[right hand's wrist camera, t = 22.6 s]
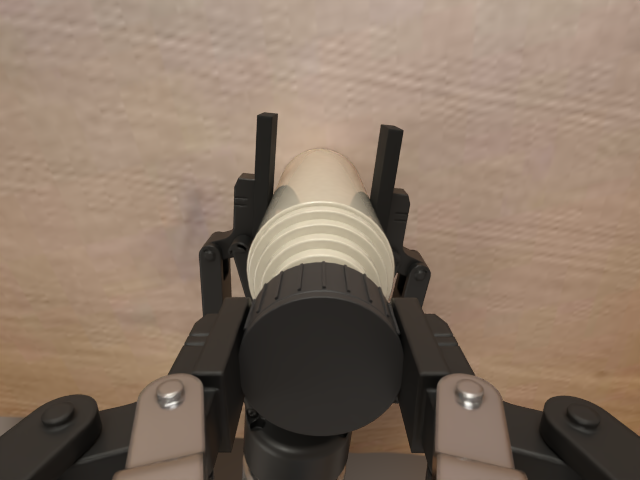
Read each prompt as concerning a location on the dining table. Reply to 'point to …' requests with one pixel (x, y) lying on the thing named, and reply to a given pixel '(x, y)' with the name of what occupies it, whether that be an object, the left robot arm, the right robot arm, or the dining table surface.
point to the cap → (321, 350)
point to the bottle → (320, 223)
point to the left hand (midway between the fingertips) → (330, 121)
